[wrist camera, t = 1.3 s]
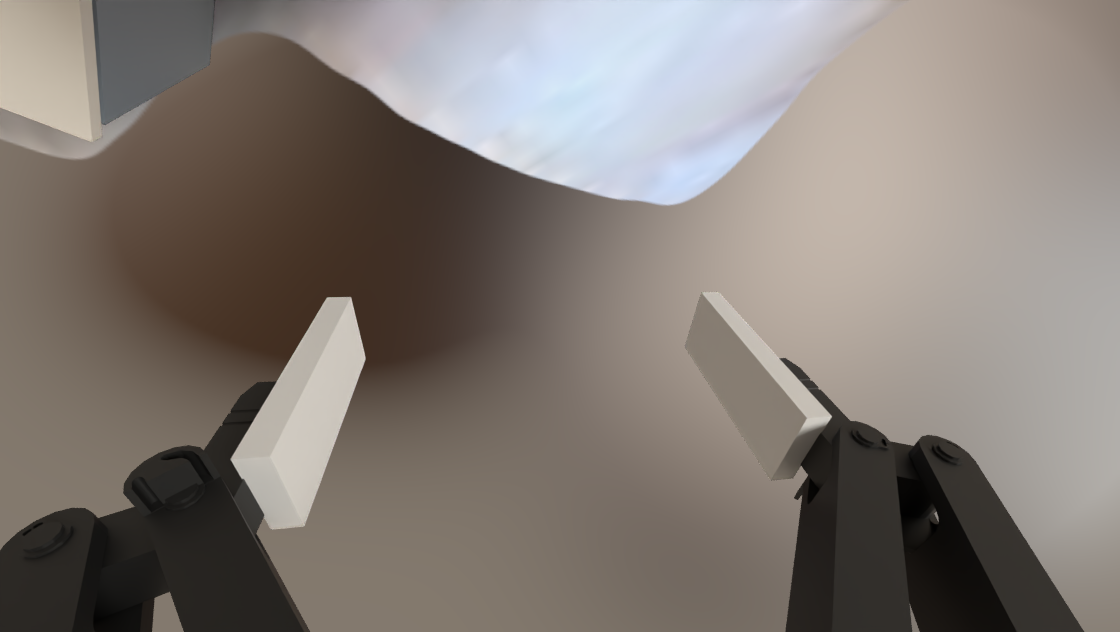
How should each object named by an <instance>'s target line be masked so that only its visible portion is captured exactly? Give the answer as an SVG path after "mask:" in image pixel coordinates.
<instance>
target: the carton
mask: <svg viewBox="0 0 1120 632" xmlns="http://www.w3.org/2000/svg"><path fill="white" fill-rule="evenodd" d="M214 4H215V0H92V10H93V23H94V36H95V50H96V63H97V76H98V89H99V102H100V115H101V123H102V124H104V125H106V124H107V123H109V122H111V121H113V120H114V119H116V118H118V117H120V116H121V115H123V114H125V113H127V112H128V111H130V110H132V109H134V108H135V107H137V106H139V105H141V104H142V103H144V102H146V101H148V100H149V99H151V98H153V97H154V96H156V95H158V94H160V93H161V92H163V91H165V90H167V89H168V88H170V87H172V86H174V85H175V84H177V83H179V82H181V81H182V80H184V79H186V78H188V77H189V76H191V75H193V74H194V73H196V72H198V71H200V70H201V69H203V68H205V67H207V66H209V65H210V55H211V42H212V29H213V17H214Z"/></svg>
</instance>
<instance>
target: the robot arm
mask: <svg viewBox="0 0 1120 632" xmlns="http://www.w3.org/2000/svg"><path fill="white" fill-rule="evenodd" d="M685 348H686V350H687V351H688V353H689V354H690V356H691V357H692V359H693V360H694V362H695V363H696V365H697V367H698V368H699V370H700V371H701V373H702V374H703V376H704V378H705V379H706V381H707V382H708V384H709V385H710V387H711V388H712V390H713V392H714V393H715V395H716V396H717V398H718V399H719V401H720V403H721V404H722V406H723V407H724V409H725V410H726V411H727V413H728V415H729V416H730V418H731V420H732V421H733V423H734V424H735V426H736V427H737V429H738V430H739V432H740V434H741V435H742V437H743V438H744V440H745V441H746V443H747V444H748V446H749V448H750V449H751V451H752V452H753V454H754V455H755V457H756V459H757V460H758V462H759V463H760V465H761V466H762V468H763V469H764V471H765V473H766V474H767V476H768V477H769V479H770V480H781V479H791V478H793V477H794V476H795V474H796V473H797V471H798V469H799V468H800V466H802V467H803V469H804V470H805V471H806V473H807V474H808V477H807V478H806V480H805V481H804V483H803V484H802V486H801V487H800V489H799V490H798V492H797V493H796V495H795V497H794V498H795V499H797V500H798V499H799V498H800V496H801V495H802V503H801V510H800V518H799V526H798V535H797V543H796V551H795V559H794V567H793V575H792V583H791V592H790V600H789V607H788V608H789V609H788V615H787V616H788V617H787V624H786V632H912V625H911V616H910V605H911V608H912V611H913V614H914V617H915V619H916V622H917V625H918V628H919V631H920V632H1084V631H1083V629H1082V628H1081V626H1080V625H1079V623H1078V621H1077V620H1076V618H1075V617H1074V615H1073V614H1072V612H1071V610H1070V609H1069V607H1068V606H1067V604H1066V603H1065V601H1064V599H1063V598H1062V596H1061V595H1060V593H1059V592H1058V590H1057V589H1056V587H1055V585H1054V584H1053V582H1052V581H1051V579H1050V578H1049V576H1048V574H1047V573H1046V571H1045V570H1044V568H1043V567H1042V565H1041V564H1040V562H1039V560H1038V559H1037V557H1036V555H1035V554H1034V552H1033V551H1032V549H1031V548H1030V546H1029V545H1028V543H1027V541H1026V540H1025V538H1024V537H1023V535H1022V534H1021V532H1020V530H1019V529H1018V527H1017V526H1016V524H1015V523H1014V521H1013V519H1012V518H1011V516H1010V515H1009V513H1008V512H1007V510H1006V509H1005V507H1004V505H1003V504H1002V502H1001V501H1000V499H999V497H998V496H997V494H996V493H995V491H994V490H993V488H992V487H991V485H990V483H989V482H988V480H987V479H986V477H985V476H984V474H983V473H982V471H981V469H980V468H979V466H978V465H977V463H976V461H975V460H974V459H973V458H972V457H971V456H970V454H969V453H967V452H966V451H965V450H964V449H962V448H961V447H960V446H958V445H957V444H955V443H952V442H951V441H949V440H946V439H943V438H941V437H938V436H932V435H926V436H922V437H921V438H920V439H919V441H918V442H917V443H916V444H915V445H914V446H911V445H906V444H900V443H895V442H890V441H889V440H888V439H887V438H886V437H885V435H883V434H882V433H881V432H879V431H878V430H877V429H875V428H873V427H871V426H869V425H867V424H864V423H861V422H857V421H850V420H849V419H848V418H847V417H846V416H845V415H844V414H843V413H842V412H841V411H840V410H839V409H838V407H836V405H834V403H833V402H832V401H831V400H830V399H829V398H828V397H827V396H826V395H825V394H824V393H823V392H822V391H821V390H819V389H818V386H817V385H816V384H815V383H814V382H813V381H810V378H809V377H808V376H807V375H806V374H805V373H804V372H803V371H802V370H801V368H799V367H798V366H796V365H795V364H793V363H792V362H790V361H789V360H787V359H786V358H778V357H777V356H776V355H775V353H774V352H773V351H772V350H771V349H770V348H769V347H768V346H767V345H766V344H765V342H764V341H763V340H762V339H761V338H760V337H759V336H758V335H757V334H756V333H755V331H754V330H753V329H752V328H751V327H750V326H749V325H748V324H747V323H746V322H745V320H743V318H742V317H741V316H740V315H739V314H738V313H737V312H736V311H735V309H734V308H733V307H732V306H731V305H730V304H729V303H728V302H727V301H726V299H725V298H724V297H723V296H722V295H721V294H720V293H719V292H701V295H700V298H699V301H698V305H697V308H696V312H695V315H694V318H693V321H692V324H691V328H690V331H689V334H688V337H687V341H686V344H685ZM364 361H365V354H364V350H363V345H362V341H361V337H360V334H359V329H358V325H357V321H356V316H355V312H354V308H353V304H352V300H351V297H331V298H329V297H328V298H327V299H326V300H325V302H324V304H323V305H322V307H321V309H320V310H319V312H318V314H317V315H316V317H315V319H314V321H313V322H312V324H311V325H310V327H309V329H308V330H307V332H306V334H305V335H304V337H303V339H302V340H301V342H300V344H299V346H298V347H297V349H296V351H295V352H294V354H293V356H292V357H291V359H290V361H289V362H288V364H287V366H286V367H285V369H284V371H283V372H282V374H281V376H280V377H279V379H278V381H277V382H257V383H256V384H255V385H254V386H252V387H251V388H250V389H249V390H247V391H246V392H245V393H244V394H242V395H241V396H240V398H239V399H238V401H237V402H236V404H235V405H234V407H233V408H232V409H231V413H230V414H228V415H227V417H226V418H225V420H224V421H223V425H222V426H220V427H219V429H218V430H217V432H216V433H215V435H214V436H213V438H212V439H211V440H210V442H209V444H208V445H207V446H206V448H205V450H202V449H201V448H200V447H195V446H189V445H188V446H181V447H175V448H172V449H169V450H166V451H163V452H160V453H158V454H156V455H155V456H153V457H151V458H149V459H147V460H146V461H144V462H143V463H142V464H141V465H139V466H138V467H137V468H136V469H135V470H134V471H132V472H131V474H130V475H129V477H128V478H127V480H126V481H125V483H124V492H123V493H124V495H125V496H126V497H127V498H128V499H129V500H130V501H131V503H132V504H133V505H134V506H135V507H133V508H129V509H126V510H123V511H120V512H117V513H113V514H110V515H107V516H104V517H100V518H97V517H96V516H95V515H94V514H93V513H92V512H91V511H89V510H87V509H85V508H70V509H66V510H62V511H58V512H54V513H52V514H50V515H47V516H45V517H43V518H41V519H39V520H36V521H35V522H33V523H32V524H30V525H29V526H27V527H26V528H24V529H22V530H21V531H19V532H18V533H17V534H16V535H15V536H13V537H12V538H11V539H10V540H9V541H8V542H7V543H6V544H5V545H4V546H3V547H2V549H1V550H0V632H152V624H153V611H154V610H153V609H154V598H155V597H157V596H160V595H162V594H165V593H167V592H170V593H171V596H172V599H173V602H174V605H175V607H176V610H177V613H178V616H179V619H180V622H181V625H182V628H183V630H184V632H310V631H309V629H308V627H307V625H306V623H305V621H304V620H303V618H302V616H301V614H300V612H299V610H298V609H297V607H296V605H295V603H294V602H293V600H292V598H291V596H290V594H289V592H288V590H287V589H286V587H285V585H284V583H283V581H282V579H281V577H280V576H279V574H278V572H277V570H276V568H275V567H274V565H273V563H272V561H271V559H270V557H269V555H268V554H267V552H266V550H265V548H264V547H263V544H262V543H261V541H260V539H259V537H258V536H257V534H256V533H257V530H258V528H259V526H260V524H261V522H262V519H263V517H264V518H265V520H266V522H267V524H268V525H269V527H270V529H271V530H272V529H282V528H291V527H302V526H304V525H305V522H306V520H307V517H308V515H309V512H310V509H311V506H312V503H313V501H314V498H315V495H316V493H317V490H318V487H319V484H320V482H321V479H322V476H323V473H324V471H325V468H326V465H327V463H328V460H329V457H330V454H331V451H332V449H333V446H334V443H335V441H336V438H337V435H338V433H339V430H340V427H341V424H342V422H343V419H344V416H345V413H346V411H347V408H348V405H349V402H350V400H351V397H352V394H353V391H354V389H355V386H356V383H357V380H358V378H359V375H360V372H361V370H362V367H363V364H364ZM936 511H937V514H938V517H939V522H938V521H937V519H936V517H935V515H934V513H935V512H936ZM909 603H910V605H909Z"/></svg>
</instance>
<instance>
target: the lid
mask: <svg viewBox="0 0 1120 632" xmlns="http://www.w3.org/2000/svg"><path fill="white" fill-rule="evenodd" d="M0 108H2V109H5V110H8V111H10V112H13V113H16V114H18V115H21V116H23V117H26V118H29V119H31V120H34V121H37V122H39V123H42V124H45V125H47V126H50V127H53V128H55V129H58V130H61V131H63V132H66V133H69V134H71V135H74V136H77V137H79V138H82V139H85V140H87V141H90V142H94V141H96V140H97V139H99V138H101V137H102V128H101V115H100V102H99V89H98V76H97V63H96V50H95V36H94V23H93V10H92V0H0Z"/></svg>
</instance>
